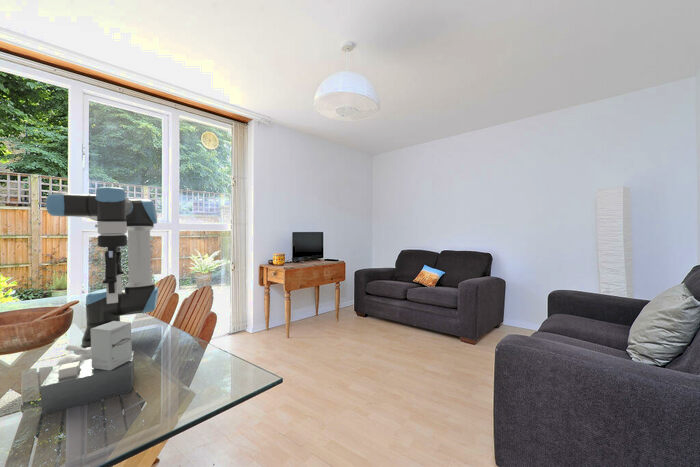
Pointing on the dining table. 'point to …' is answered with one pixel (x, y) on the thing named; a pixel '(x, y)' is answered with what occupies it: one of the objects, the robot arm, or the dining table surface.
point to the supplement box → (111, 345)
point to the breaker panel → (85, 386)
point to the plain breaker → (69, 369)
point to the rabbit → (76, 354)
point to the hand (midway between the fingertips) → (114, 298)
